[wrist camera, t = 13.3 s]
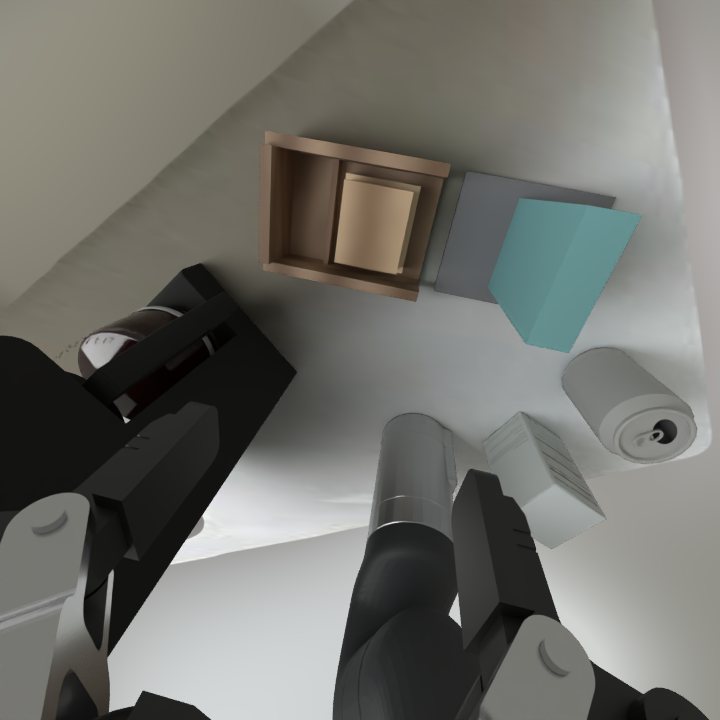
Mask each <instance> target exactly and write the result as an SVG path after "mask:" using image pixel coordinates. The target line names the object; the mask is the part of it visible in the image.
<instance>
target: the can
mask: <svg viewBox="0 0 720 720" xmlns="http://www.w3.org/2000/svg"><path fill="white" fill-rule="evenodd" d="M562 387H563V389H564V390H565V392H566V394H567V395H568V397H569V398H570V400H571V401H572V402H573V404H574V405H575V407H576V408H577V409H578V411H579V412H580V414H581V415H582V416H583V418H584V419H585V421H586V422H587V423H588V425H589V426H590V428H591V429H592V430H593V432H594V433H595V435H596V436H597V438H598V439H599V440H600V442H601V443H602V445H603V446H604V447H605V448H607V449H608V450H609V451H610V452H612V453H614V454H617V455H620V456H622V457H623V458H624V459H625V460H628V461H631V462H634V463H641V464H653V463H661V462H664V461H667V460H670V459H673V458H675V457H677V456H678V455H680V454H682V453H683V452H684V451H686V450H687V449H688V448H689V447H690V446H691V445H692V443H693V441H694V440H695V438H696V434H697V427H696V424H695V422H694V420H693V419H694V415H693V413H692V410H691V408H690V406H689V405H688V404H686V403H685V402H684V401H683V400H682V399H680V398H679V397H678V396H677V395H676V394H674V393H673V392H672V391H671V390H669V389H668V388H667V387H666V386H664V385H663V384H662V383H661V382H659V381H658V380H657V379H656V378H654V377H653V376H652V375H651V374H650V373H648V372H647V371H646V370H645V369H643V368H642V367H641V366H640V365H638V364H637V363H636V362H635V361H633V360H632V359H631V358H630V357H629V356H627V355H626V354H625V353H624V352H621V351H619V350H616V349H612V348H599V349H594V350H590V351H587V352H585V353H583V354H581V355H579V356H578V357H576V358H575V359H574V360H572V361H571V362H570V363H569V365H568V366H567V367H566V369H565V370H564V373H563V376H562Z"/></svg>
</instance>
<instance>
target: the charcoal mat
mask: <svg viewBox="0 0 720 720" xmlns="http://www.w3.org/2000/svg"><path fill="white" fill-rule="evenodd" d="M519 198H524V199H533V200H543V201H552V202H562V203H571V204H581V205H590V206H595V207H601V208H606V209H611V207H612V205H613V203H614V201H615V199H616V197H610V196H604V195H599V194H593V193H588V192H582V191H576V190H571V189H565V188H560V187H554V186H548V185H543V184H537V183H532V182H526V181H520V180H515V179H509V178H504V177H498V176H492V175H487V174H481V173H476V172H470V171H466V174H465V178H464V181H463V185H462V189H461V192H460V196H459V200H458V203H457V207H456V210H455V214H454V218H453V221H452V225H451V229H450V232H449V236H448V240H447V243H446V247H445V250H444V254H443V258H442V261H441V265H440V269H439V272H438V276H437V280H436V283H435V287H434V291H436V292H441V293H446V294H451V295H456V296H461V297H466V298H471V299H476V300H480V301H485V302H490V303H495V304H498V302H497V301H496V299H495V298H494V296H493V295H492V293H491V292H490V290H489V289H488V285H489V282H490V279H491V277H492V274H493V271H494V268H495V265H496V263H497V260H498V257H499V254H500V251H501V249H502V246H503V243H504V240H505V237H506V235H507V232H508V229H509V226H510V223H511V221H512V218H513V215H514V212H515V209H516V207H517V204H518V201H519Z"/></svg>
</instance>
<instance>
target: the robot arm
mask: <svg viewBox="0 0 720 720" xmlns="http://www.w3.org/2000/svg"><path fill="white" fill-rule="evenodd" d="M218 449H219V425H218V411H217V408H216V407H214V406H210V405H205V404H201V403H197V402H189V403H187V404H186V405H185V406H184V407H183V408H182V409H181V410H180V411H179V412H178V413H176V414H175V415H174V414H170V413H169V414H167V415H165V416H163V417H161V418H159V419H157V420H155V421H153V422H151V423H150V424H149V425H148V426H146V427H145V428H144V429H143V430H142V431H141V432H140V433H139V434H137V437H134V438H133V439H132V440H131V441H129V442H128V443H127V444H126V446H125V448H122V449H120V450H119V451H118V452H117V453H116V454H115V455H114V456H113V457H111V458H110V459H109V460H108V461H107V462H106V463H105V464H103V465H102V466H101V467H100V468H99V469H98V470H97V471H96V472H94V473H93V474H92V475H91V476H90V477H89V478H88V479H86V480H85V481H84V482H83V483H82V484H81V485H80V486H79V487H77V488H76V489H75V490H74V491H72V492H71V493H60V494H55V495H51V496H48V497H45V498H43V499H40V500H38V501H36V502H34V503H33V504H31V505H29V506H27V507H26V508H25V509H23V510H21V511H3V512H0V720H211V719H210V718H208V717H207V716H206V715H205V714H204V713H202V712H201V711H200V710H199V709H197V708H196V707H195V706H194V705H190V704H187V703H183V702H180V701H177V700H173V699H170V698H167V697H163V696H160V695H156V694H153V693H149V692H146V691H142V693H141V695H140V697H139V699H138V700H137V702H136V704H135V706H132V707H127V708H123V709H119V710H115V711H112V712H109V701H110V681H109V672H108V663H107V650H108V637H109V625H110V613H111V601H112V589H113V577H114V571H113V569H114V568H115V566H116V565H117V564H118V563H119V561H120V560H121V559H122V558H123V557H126V558H130V559H133V560H137V561H139V560H140V559H141V558H142V556H143V555H144V554H145V552H146V551H147V550H148V548H149V547H150V546H151V544H152V543H153V542H154V540H155V539H156V537H157V536H158V535H159V533H160V532H161V531H162V529H163V528H164V527H165V525H166V524H167V523H168V521H169V520H170V519H171V517H172V516H173V515H174V513H175V512H176V511H177V509H178V508H179V507H180V505H181V504H182V503H183V501H184V500H185V499H186V497H187V496H188V495H189V493H190V492H191V491H192V489H193V488H194V487H195V485H196V484H197V483H198V481H199V480H200V479H201V477H202V476H203V475H204V473H205V472H206V470H207V469H208V468H209V466H210V465H211V464H212V462H213V461H214V459H215V457H216V455H217V452H218ZM456 486H457V475H456V467H455V459H454V452H453V444H452V436H451V431H450V430H448V429H444V428H443V427H442V426H441V425H440V424H439V423H438V422H436V421H435V420H433V419H432V418H430V417H427V416H425V415H421V414H405V415H401V416H398V417H396V418H394V419H393V420H391V421H390V422H389V423H388V424H387V426H386V427H385V429H384V432H383V437H382V441H381V450H380V457H379V463H378V470H377V477H376V483H375V490H374V496H373V503H372V510H371V516H370V523H369V530H368V537H367V544H366V550H365V555H364V559H363V562H362V565H361V568H360V570H359V573H358V576H357V578H356V582H355V585H354V589H353V593H352V598H351V603H350V608H349V614H348V618H347V623H346V629H345V634H344V639H343V644H342V649H341V655H340V661H339V665H338V672H337V677H336V684H335V692H334V701H333V720H709V719H708V718H707V717H706V716H705V715H704V714H703V713H702V712H701V711H700V710H699V709H698V708H697V707H695V706H694V705H693V704H692V703H690V702H689V701H688V700H687V699H685V698H684V697H682V696H681V695H679V694H677V693H676V692H673V691H671V690H669V689H665V688H654V689H651V690H650V691H648V692H646V693H645V694H642V693H640V692H639V691H637V690H636V689H634V688H632V687H631V686H629V685H628V684H626V683H624V682H623V681H621V680H619V679H618V678H616V677H615V676H613V675H611V674H610V673H608V672H606V671H605V670H603V669H602V668H600V667H599V666H597V665H596V664H594V663H593V662H592V661H591V660H590V659H589V658H588V656H587V654H586V652H585V650H584V649H583V647H582V646H581V644H580V643H579V641H578V640H577V639H576V638H575V637H574V636H573V634H572V633H571V632H570V631H569V630H568V629H567V628H565V627H564V626H563V625H562V624H561V622H560V620H559V617H558V615H557V612H556V609H555V606H554V603H553V600H552V596H551V593H550V590H549V587H548V584H547V581H546V578H545V574H544V571H543V568H542V565H541V562H540V559H539V556H538V553H536V547H535V544H534V540H533V537H531V531H530V528H529V525H528V522H527V519H526V516H525V514H524V512H523V511H522V510H521V508H520V507H519V505H518V504H517V502H516V501H515V500H514V498H513V497H509V496H505V495H503V491H502V488H501V484H500V480H499V478H498V476H497V475H496V474H491V473H487V472H483V471H479V470H475V469H470V470H469V471H468V472H467V474H466V477H465V479H464V481H463V483H462V485H461V487H460V490H459V492H458V494H457V496H456V498H455V501H454V503H453V496H452V495H453V492H454V490H455V488H456ZM457 593H458V596H459V607H460V617H461V627H462V628H461V627H460V626H459V625H458V623H456V622H455V621H454V620H453V619H452V618H451V617H450V616H449V612H450V609H451V607H452V604H453V602H454V600H455V598H456V595H457Z"/></svg>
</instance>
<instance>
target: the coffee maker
mask: <svg viewBox="0 0 720 720" xmlns="http://www.w3.org/2000/svg"><path fill="white" fill-rule="evenodd" d="M141 309H143V310H141ZM141 309H139V310H141V311H139V312H137V311H138V310H137V311H135V312H136V313H135V312H133V313H131V314H130V315H129V316H127V317H124V318H122V319H120V320H117V321H115V322H113V323H111V324H108V325H106V326H104V327H102V328H100V329H98V330H96V331H95V332H93V333H92V334H91V333H90V335H89V336H88V337H85V338H84V337H83V338H84V340H83V341H82V340H81V341H82V344H81V345H80V349H79V352H78V364H79V368H80V372H81V374H82V376H83V377H80V376H78V375H76V374H73V373H69V372H66V371H64V370H63V369H62V368H61V367H59V366H58V365H57V364H56V363H55V362H54V361H52V360H51V359H50V358H49V357H48V356H47V355H46V354H44V353H43V352H42V351H41V350H40V349H39V348H37V347H36V346H34V345H33V344H32V343H30V342H28V341H25V340H23V339H20V338H16V337H12V336H0V512H3V511H21V510H23V509H25V508H26V507H27V506H29V505H31V504H33V503H34V502H36V501H38V500H40V499H43V498H45V497H48V496H51V495H55V494H60V493H71V492H72V491H74V490H75V489H76V488H77V487H79V486H80V485H81V484H82V483H83V482H84V481H85V480H86V479H88V478H89V477H90V476H91V475H92V474H93V473H94V472H96V471H97V470H98V469H99V468H100V467H101V466H102V465H103V464H105V463H106V462H107V461H108V460H109V459H110V458H111V457H113V456H114V455H115V454H116V453H117V452H118V451H119V450H120V449H122V448H125V446H126V444H127V443H128V442H129V441H131V440H132V439H133V438H134V437H137V434H139V433H140V432H141V431H142V430H143V429H144V428H145V427H146V426H148V425H149V424H150V423H151V422H153V421H155V420H157V419H159V418H161V417H163V416H165V415H167V414H169V413H170V414H174V415H175V414H176V413H178V412H179V411H180V410H181V409H182V408H183V407H184V406H185V405H186V404H187V403H189V402H197V403H201V404H205V405H210V406H214V407H216V408H217V411H218V425H219V449H218V452H217V455H216V457H215V459H214V461H213V462H212V464H211V465H210V466H209V468H208V469H207V470H206V472H205V473H204V475H203V476H202V477H201V479H200V480H199V481H198V483H197V484H196V485H195V487H194V488H193V489H192V491H191V492H190V493H189V495H188V496H187V497H186V499H185V500H184V501H183V503H182V504H181V505H180V507H179V508H178V509H177V511H176V512H175V513H174V515H173V516H172V517H171V519H170V520H169V521H168V523H167V524H166V525H165V527H164V528H163V529H162V531H161V532H160V533H159V535H158V536H157V537H156V539H155V540H154V542H153V543H152V544H151V546H150V547H149V548H148V550H147V551H146V552H145V554H144V555H143V556H142V558H141V559H140V560H139V561H137V560H133V559H130V558H126V557H123V558H122V559H121V560H120V561H119V563H118V564H117V565H116V566H115V568H114V569H113V571H114V577H113V589H112V601H111V613H110V625H109V637H108V650H107V658H108V656H109V655H110V653H111V652H112V650H113V649H114V647H115V645H116V644H117V643H118V641H119V640H120V638H121V637H122V635H123V634H124V632H125V631H126V629H127V628H128V626H129V625H130V623H131V622H132V620H133V619H134V617H135V616H136V614H137V613H138V611H139V610H140V608H141V607H142V605H143V604H144V602H145V601H146V599H147V597H148V596H149V594H150V593H151V591H152V590H153V588H154V587H155V585H156V584H157V582H158V581H159V579H160V578H161V576H162V575H163V573H164V572H165V570H166V569H167V567H168V566H169V564H170V563H171V561H172V560H173V558H174V557H175V555H176V554H177V552H178V551H179V549H180V548H181V546H182V545H183V543H184V542H185V540H186V539H187V537H188V536H189V534H190V533H191V531H192V530H193V528H194V527H195V525H196V524H197V522H198V521H199V519H200V518H201V516H202V515H203V513H204V512H205V510H206V509H207V507H208V506H209V504H210V503H211V501H212V500H213V498H214V497H215V495H216V494H217V492H218V491H219V489H220V488H221V486H222V485H223V483H224V482H225V480H226V479H227V477H228V476H229V474H230V473H231V471H232V470H233V468H234V467H235V465H236V464H237V462H238V461H239V459H240V458H241V456H242V455H243V453H244V452H245V450H246V449H247V447H248V446H249V444H250V443H251V441H252V440H253V438H254V436H255V435H256V433H257V432H258V430H259V429H260V427H261V426H262V424H263V423H264V421H265V420H266V418H267V417H268V415H269V414H270V412H271V411H272V409H273V408H274V406H275V405H276V403H277V402H278V400H279V399H280V397H281V396H282V394H283V393H284V391H285V390H286V388H287V387H288V385H289V384H290V382H291V381H292V379H293V378H294V376H295V375H296V373H297V372H296V371H295V369H294V368H293V367H292V366H291V365H290V364H289V363H288V362H287V360H286V359H285V358H284V357H283V356H282V355H281V354H280V353H279V351H278V350H277V349H276V348H275V347H274V346H273V345H272V344H271V342H270V341H269V340H268V339H267V338H266V337H265V336H264V335H263V333H262V332H261V331H260V330H259V329H258V328H257V327H256V326H255V324H254V323H253V322H252V321H251V320H250V319H249V318H248V316H247V315H246V314H245V313H244V312H243V311H242V310H241V309H240V307H239V306H238V305H237V304H236V302H235V301H234V300H233V299H232V298H231V297H230V296H229V295H228V294H227V293H226V292H225V291H224V289H223V288H222V287H221V286H220V285H219V284H218V283H217V282H216V280H215V279H214V278H213V277H212V276H211V275H210V274H209V273H208V271H207V270H206V269H205V268H204V267H203V266H202V265H201V264H200V263H199V264H197V265H194V266H191V267H188V268H185V269H182V270H181V271H180V272H179V273H178V274H177V275H176V276H175V277H174V278H173V280H172V281H171V282H170V283H169V284H168V285H167V286H166V287H165V288H164V289H163V290H162V291H161V292H160V293H159V294H158V295H157V296H156V297H155V298H154V299H153V300H152V301H151V302H150V303H149V304H148V305H147V306H146V307H144V308H141ZM83 338H82V339H83ZM77 341H78V340H77ZM77 341H76V342H77ZM77 343H78V342H77ZM74 345H75V344H74ZM75 346H76V345H75ZM68 347H69V346H68ZM69 348H70V347H69ZM63 350H64V349H63ZM66 351H67V350H66ZM61 352H62V351H61ZM67 352H68V351H67ZM62 353H63V352H62ZM58 357H59V356H58ZM59 358H60V357H59ZM122 416H123V417H125V418H128V419H130V421H129V422H128V423H125V422H124V419H123V417H122Z"/></svg>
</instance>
